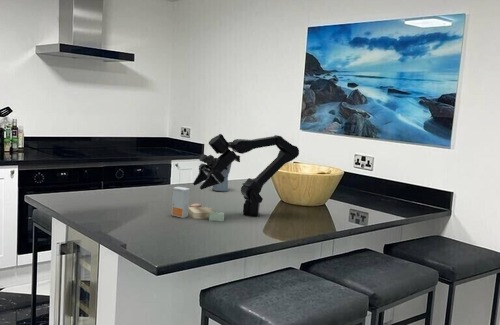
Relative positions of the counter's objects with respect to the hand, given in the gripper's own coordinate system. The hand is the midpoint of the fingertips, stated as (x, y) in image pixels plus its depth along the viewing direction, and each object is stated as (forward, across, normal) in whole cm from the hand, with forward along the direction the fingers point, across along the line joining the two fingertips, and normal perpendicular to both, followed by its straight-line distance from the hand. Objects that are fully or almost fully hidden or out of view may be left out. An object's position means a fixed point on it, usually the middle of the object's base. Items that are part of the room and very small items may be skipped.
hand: (196, 186), depth 207 cm
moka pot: (-13, -54, +31) cm, 64 cm away
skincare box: (+14, 0, +4) cm, 14 cm away
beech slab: (+7, 0, +11) cm, 13 cm away
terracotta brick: (+7, -8, +11) cm, 15 cm away
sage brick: (+4, +7, +14) cm, 16 cm away
